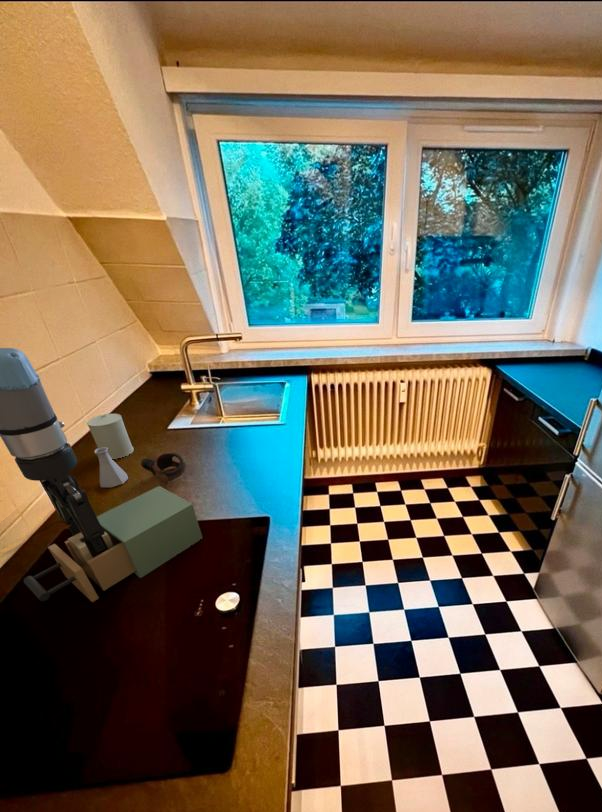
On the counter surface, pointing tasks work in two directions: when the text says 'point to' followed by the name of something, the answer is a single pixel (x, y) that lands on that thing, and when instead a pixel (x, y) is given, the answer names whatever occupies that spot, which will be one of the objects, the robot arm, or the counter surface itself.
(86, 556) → the block
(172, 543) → the cabinet
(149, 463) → the pottery mug
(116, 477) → the flask
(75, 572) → the drawer
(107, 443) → the can
